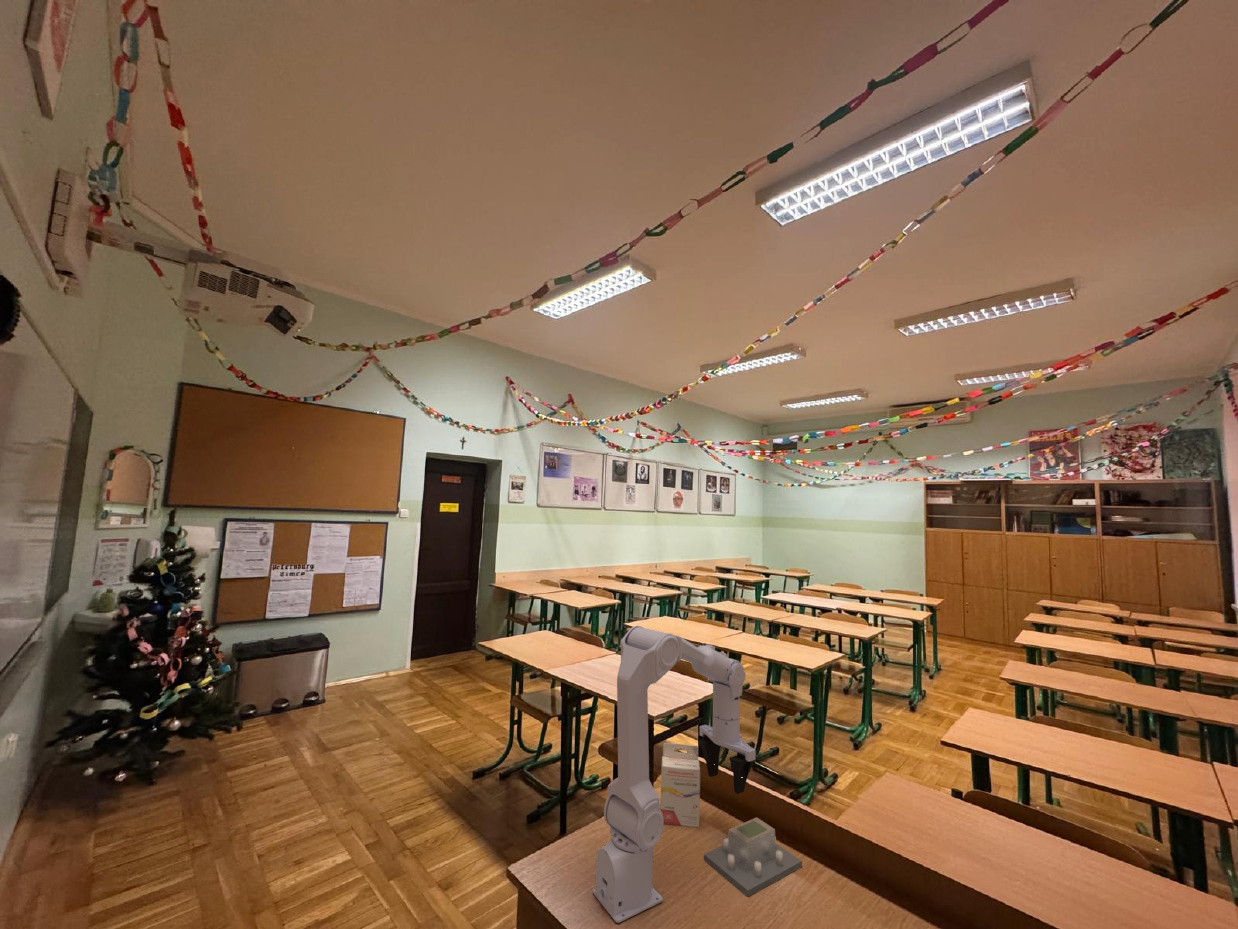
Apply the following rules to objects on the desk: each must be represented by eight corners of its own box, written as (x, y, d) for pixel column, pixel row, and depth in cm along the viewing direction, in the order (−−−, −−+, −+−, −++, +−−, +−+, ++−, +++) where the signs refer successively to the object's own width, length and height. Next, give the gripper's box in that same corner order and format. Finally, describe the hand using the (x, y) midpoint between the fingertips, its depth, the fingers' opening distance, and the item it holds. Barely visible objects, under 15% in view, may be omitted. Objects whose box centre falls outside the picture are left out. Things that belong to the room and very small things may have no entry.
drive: (746, 872, 88) (746, 842, 88) (728, 858, 91) (728, 829, 92) (776, 857, 92) (776, 828, 93) (758, 844, 96) (758, 816, 97)
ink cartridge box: (659, 824, 103) (661, 751, 105) (660, 811, 108) (661, 741, 110) (699, 828, 102) (700, 754, 104) (698, 815, 107) (699, 744, 109)
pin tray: (747, 897, 83) (747, 878, 83) (703, 859, 92) (704, 842, 93) (802, 867, 91) (801, 849, 91) (756, 835, 100) (756, 819, 101)
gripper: (765, 724, 100) (765, 794, 98) (715, 702, 112) (715, 764, 110) (741, 730, 96) (741, 804, 94) (692, 707, 108) (692, 772, 106)
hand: (725, 783), depth 102 cm, fingers open, 7 cm apart
